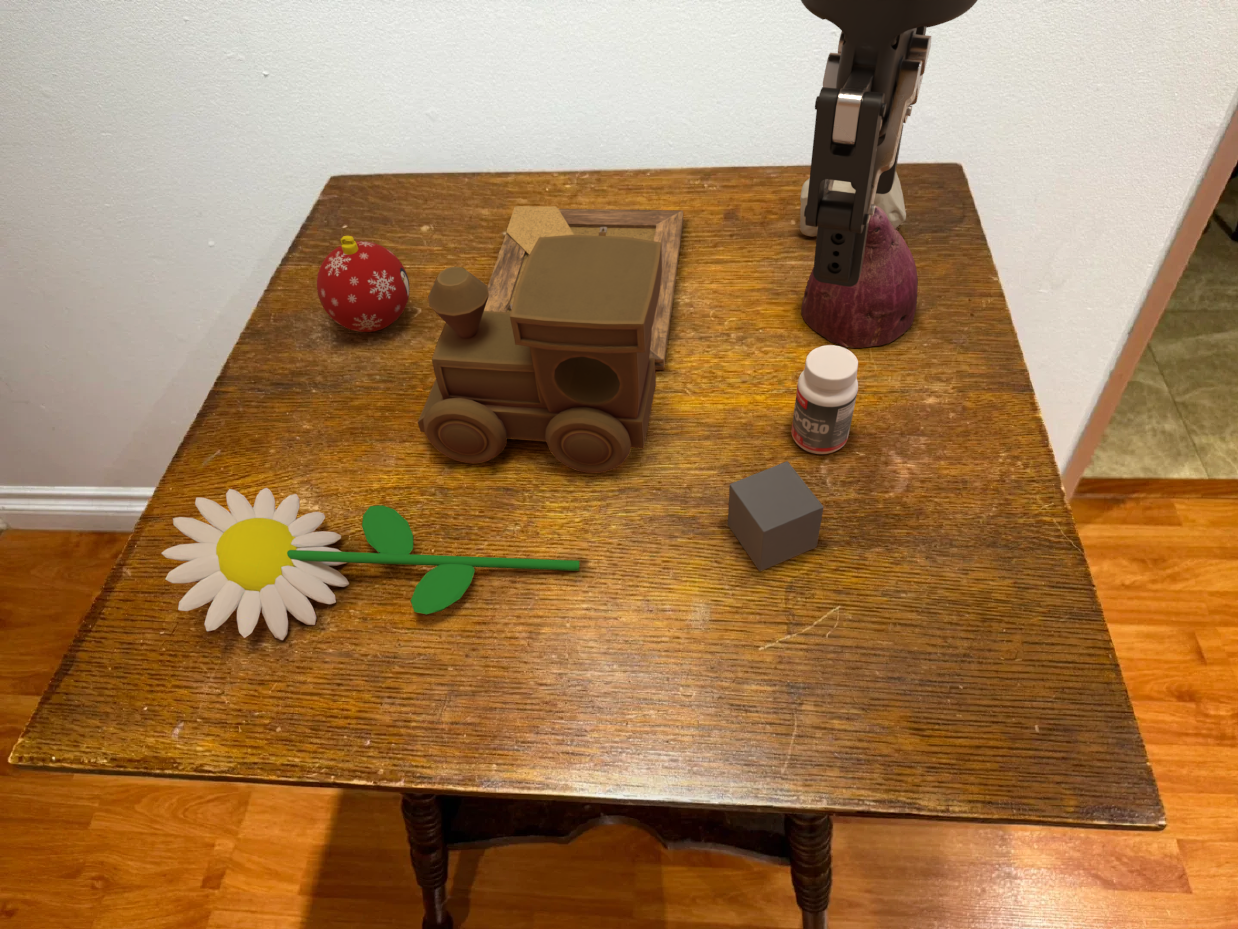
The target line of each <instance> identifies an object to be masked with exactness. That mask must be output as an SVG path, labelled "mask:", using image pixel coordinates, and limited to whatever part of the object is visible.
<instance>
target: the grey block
mask: <svg viewBox="0 0 1238 929" xmlns="http://www.w3.org/2000/svg"><path fill="white" fill-rule="evenodd" d="M824 508H825V507H824V505H823V504H822V503H821V501H820V500H819V499H818V497H817V496H816V495H815V494H814V492H813V491H812V490H811V488H809V486H808V485H807V484H806V483H805V480H803V478H802V477H801V476H800V475H799V473H798V472H797V471H796V469H794V467H793V466H792V465H791V464H790V462H789V461H788V460H786V461H784V462H781V463H779V464H776V465H774V466H771V467H768V468H767V469H764V470H761V471H759V472H756V473H754V474H750V475H749V476H746V477H744V478H742V479H739V480H736V481H734V482H731V483H729V488H728V510H727V526H728V527H729V529H730V531H731V532H732V533H733V535H734V536H735V537H736V539H737V541H738V542H739V544H740V546H742V548H743V549H744V551H745V552H746V554H747V555H748V556H749V558H750V560H751V561H752V563H753V564H754V565H755V567H756V568H757V569H758V571H759V572H762V571H764V570H767V569H769V568H771V567H774V566H776V565H778V564H781V563H783V562H786V561H788V560H790V559H793V558H795V557H797V556H800V555H802V554H804V553H806V552H809V551H811V550H813V549H816V548H817V547H818V542H819V536H820V530H821V524H822V520H823V512H824Z"/></svg>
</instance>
